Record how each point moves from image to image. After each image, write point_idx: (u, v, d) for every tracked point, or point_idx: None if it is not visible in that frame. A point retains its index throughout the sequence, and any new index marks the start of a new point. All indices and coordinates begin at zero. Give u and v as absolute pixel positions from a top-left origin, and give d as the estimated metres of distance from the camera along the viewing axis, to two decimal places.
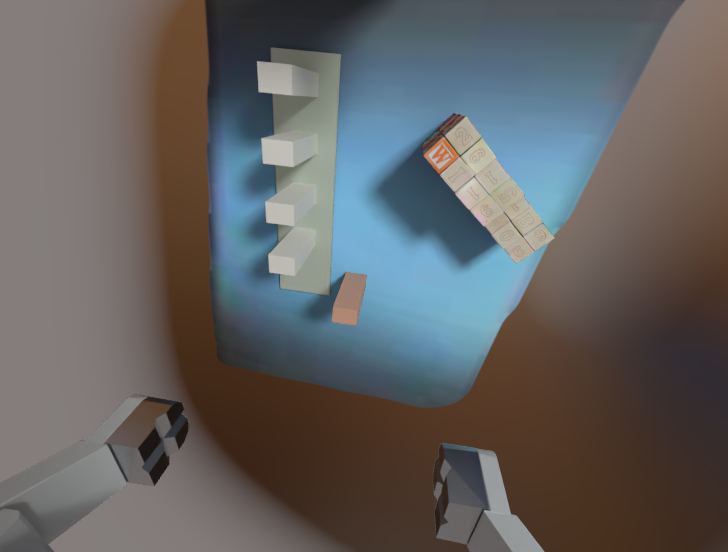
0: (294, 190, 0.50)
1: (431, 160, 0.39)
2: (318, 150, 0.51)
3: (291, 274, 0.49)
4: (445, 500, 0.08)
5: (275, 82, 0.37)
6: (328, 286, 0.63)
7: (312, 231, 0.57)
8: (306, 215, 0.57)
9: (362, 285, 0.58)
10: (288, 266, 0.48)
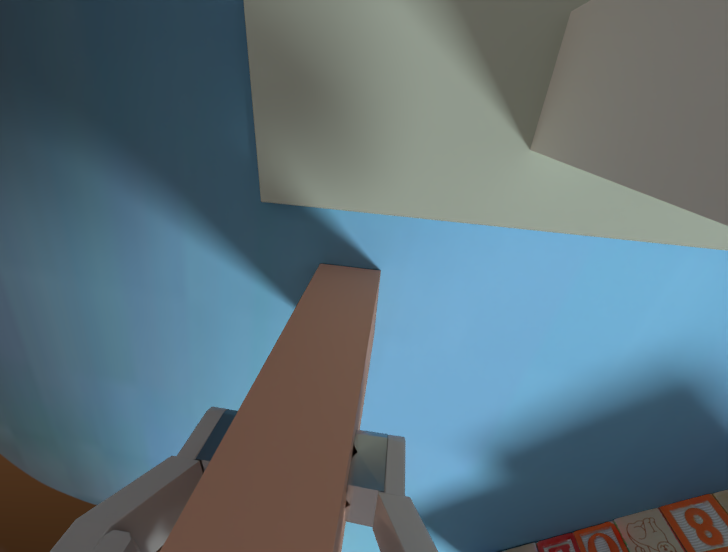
0: None
1: None
2: None
3: None
4: None
5: None
6: (307, 202, 0.14)
7: None
8: None
9: (365, 390, 0.14)
10: None
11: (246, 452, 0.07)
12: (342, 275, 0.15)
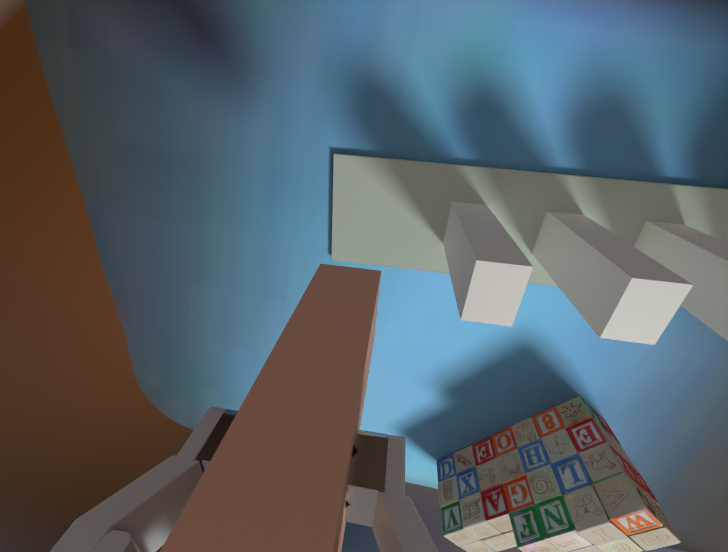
0: None
1: (633, 514, 0.27)
2: None
3: (466, 313, 0.19)
4: None
5: None
6: (352, 260, 0.32)
7: None
8: (508, 233, 0.29)
9: (365, 390, 0.14)
10: (490, 309, 0.19)
11: (246, 452, 0.07)
12: (342, 275, 0.15)
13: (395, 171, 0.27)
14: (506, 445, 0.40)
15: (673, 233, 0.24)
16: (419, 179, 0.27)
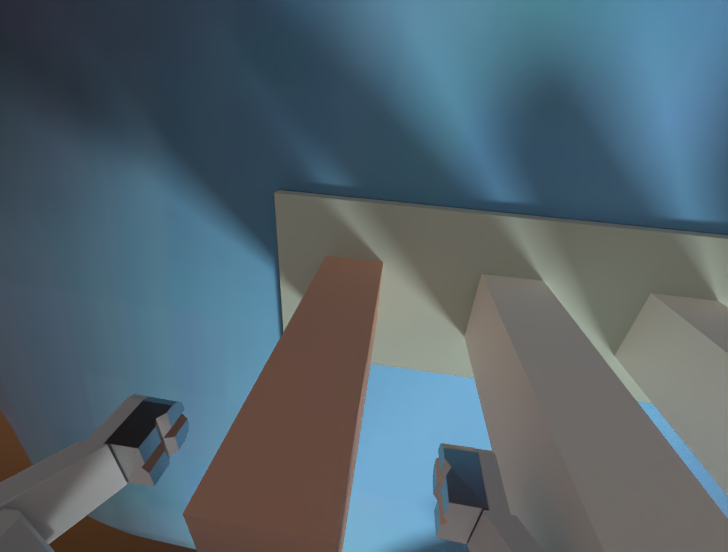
0: None
1: None
2: None
3: None
4: (445, 500, 0.08)
5: None
6: None
7: None
8: (578, 324, 0.17)
9: (368, 374, 0.15)
10: None
11: (264, 416, 0.08)
12: (347, 266, 0.16)
13: (383, 223, 0.15)
14: None
15: None
16: (425, 237, 0.16)
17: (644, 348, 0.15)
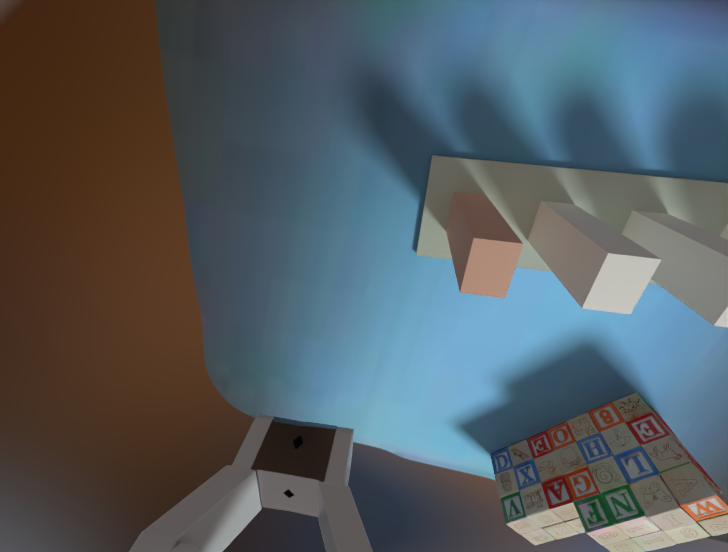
0: None
1: (704, 501, 0.29)
2: None
3: (588, 302, 0.21)
4: None
5: None
6: (436, 255, 0.34)
7: None
8: None
9: None
10: (612, 299, 0.21)
11: (478, 226, 0.22)
12: (469, 195, 0.30)
13: (489, 172, 0.29)
14: (563, 439, 0.42)
15: None
16: (512, 179, 0.29)
17: None
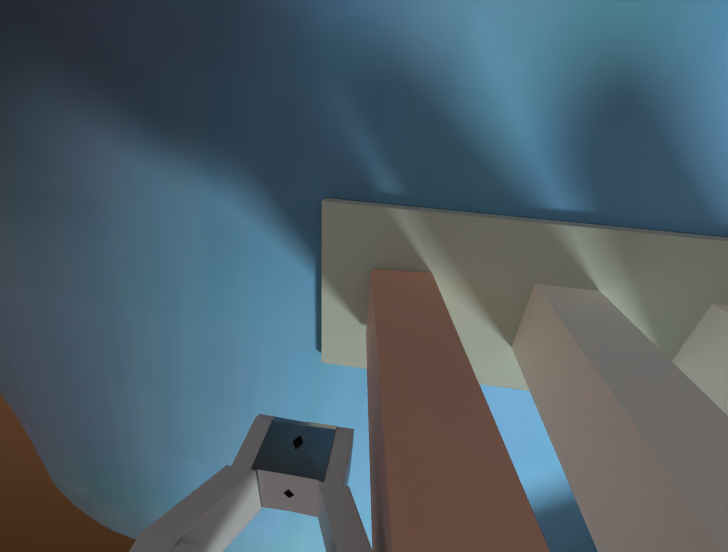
0: None
1: None
2: None
3: None
4: None
5: None
6: (355, 364, 0.19)
7: None
8: None
9: None
10: None
11: (416, 468, 0.07)
12: (399, 280, 0.15)
13: (435, 232, 0.15)
14: None
15: None
16: (479, 246, 0.15)
17: (705, 360, 0.15)
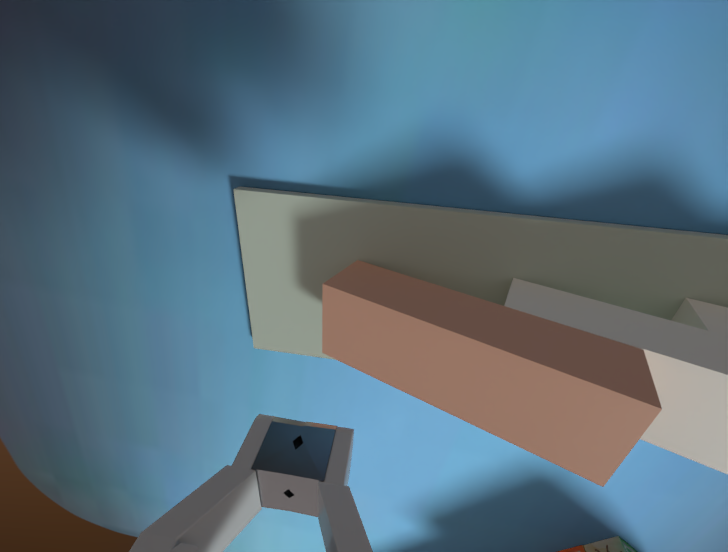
0: None
1: None
2: None
3: None
4: None
5: None
6: (285, 350, 0.20)
7: None
8: None
9: None
10: None
11: (571, 362, 0.11)
12: (355, 278, 0.15)
13: (342, 219, 0.16)
14: None
15: None
16: (384, 233, 0.16)
17: None
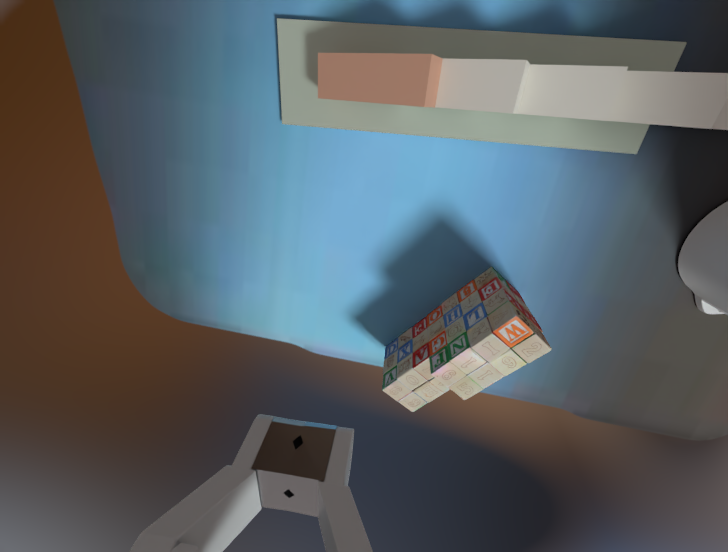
0: None
1: (509, 323, 0.34)
2: (522, 116, 0.35)
3: (515, 107, 0.28)
4: None
5: None
6: (299, 123, 0.38)
7: None
8: None
9: None
10: (518, 101, 0.29)
11: None
12: None
13: (327, 32, 0.33)
14: (435, 317, 0.47)
15: None
16: (346, 39, 0.34)
17: None
